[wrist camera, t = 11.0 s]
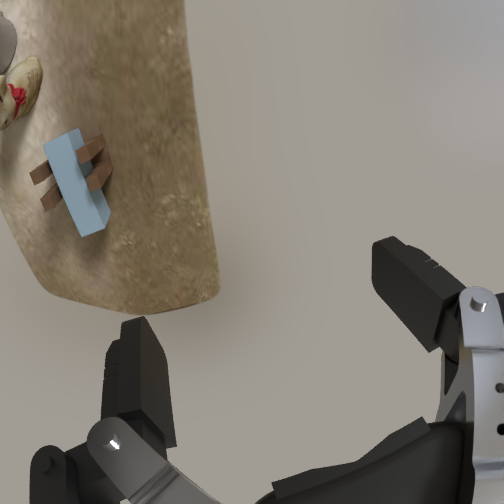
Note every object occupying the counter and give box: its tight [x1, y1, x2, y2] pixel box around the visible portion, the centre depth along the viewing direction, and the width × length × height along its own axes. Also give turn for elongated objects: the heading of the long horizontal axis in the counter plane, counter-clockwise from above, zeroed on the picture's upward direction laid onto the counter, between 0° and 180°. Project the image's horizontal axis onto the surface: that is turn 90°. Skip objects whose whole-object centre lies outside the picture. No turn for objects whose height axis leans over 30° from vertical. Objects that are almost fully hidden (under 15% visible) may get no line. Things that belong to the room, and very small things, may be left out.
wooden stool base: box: [30, 135, 113, 211], centre depth 30 cm, size 4×7×8 cm, turn 102°
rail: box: [43, 128, 111, 237], centre depth 30 cm, size 11×3×4 cm, turn 13°
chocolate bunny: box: [0, 56, 43, 131], centre depth 22 cm, size 6×8×10 cm
